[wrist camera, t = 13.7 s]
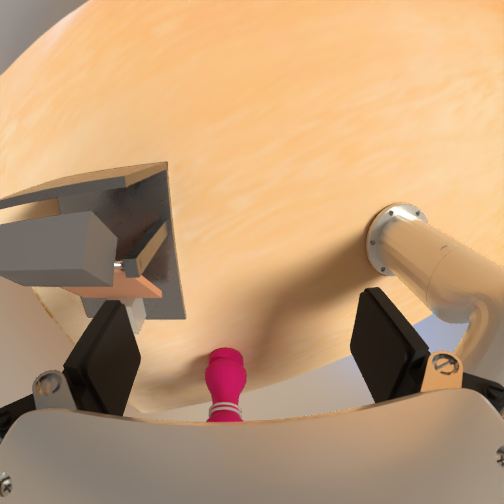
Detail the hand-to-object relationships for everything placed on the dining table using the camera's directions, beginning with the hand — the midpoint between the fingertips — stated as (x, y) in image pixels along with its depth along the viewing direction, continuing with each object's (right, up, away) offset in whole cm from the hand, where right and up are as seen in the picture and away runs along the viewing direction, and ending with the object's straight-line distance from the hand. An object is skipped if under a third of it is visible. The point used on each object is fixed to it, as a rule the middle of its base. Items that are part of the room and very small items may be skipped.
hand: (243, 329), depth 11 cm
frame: (-20, +3, +30) cm, 37 cm away
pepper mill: (-5, -17, +40) cm, 43 cm away
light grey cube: (-20, -4, +30) cm, 36 cm away
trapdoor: (-20, +2, +20) cm, 29 cm away
